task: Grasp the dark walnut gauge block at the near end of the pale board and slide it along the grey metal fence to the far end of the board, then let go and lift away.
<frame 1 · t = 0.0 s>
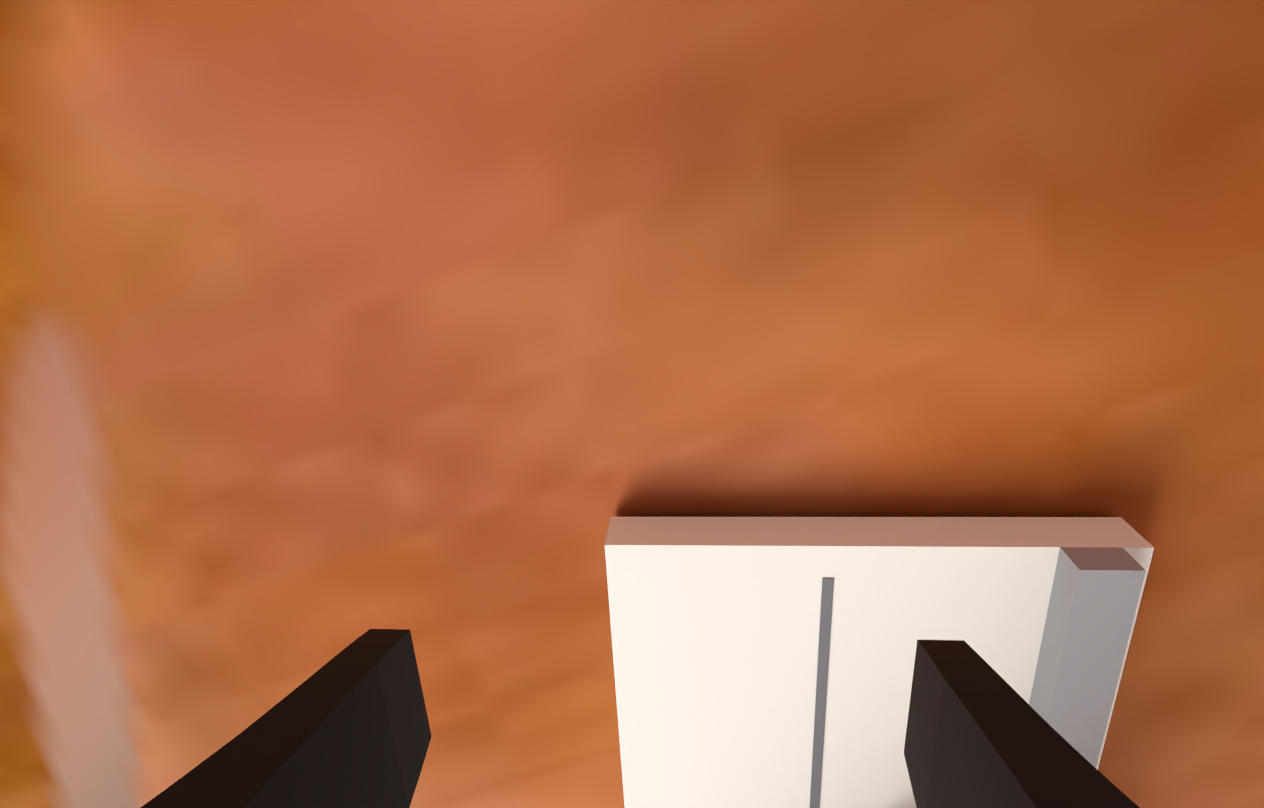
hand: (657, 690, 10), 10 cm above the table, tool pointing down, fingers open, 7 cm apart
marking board: (839, 755, 23), on the table
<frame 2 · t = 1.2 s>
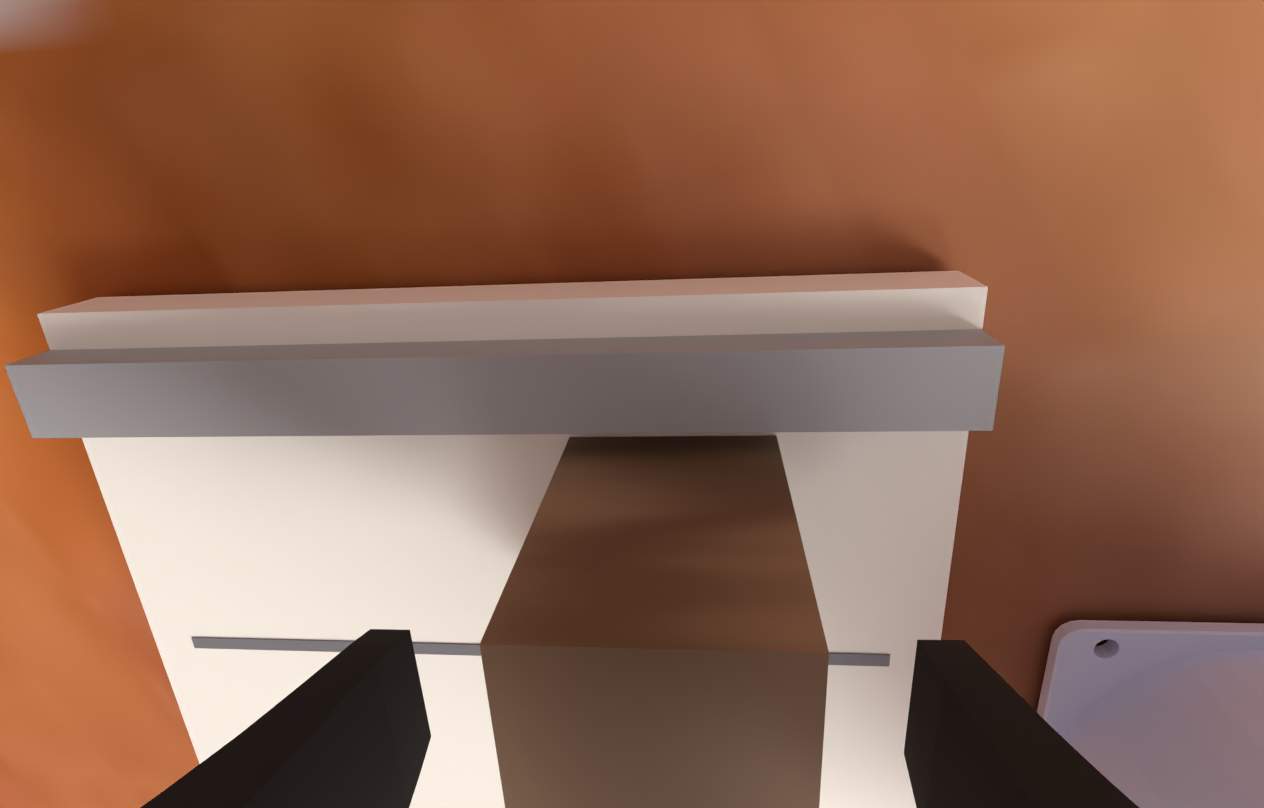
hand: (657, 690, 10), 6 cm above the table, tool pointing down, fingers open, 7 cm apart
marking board: (533, 573, 17), on the table
gauge block: (674, 526, 14), point 1 cm above the table, touching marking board
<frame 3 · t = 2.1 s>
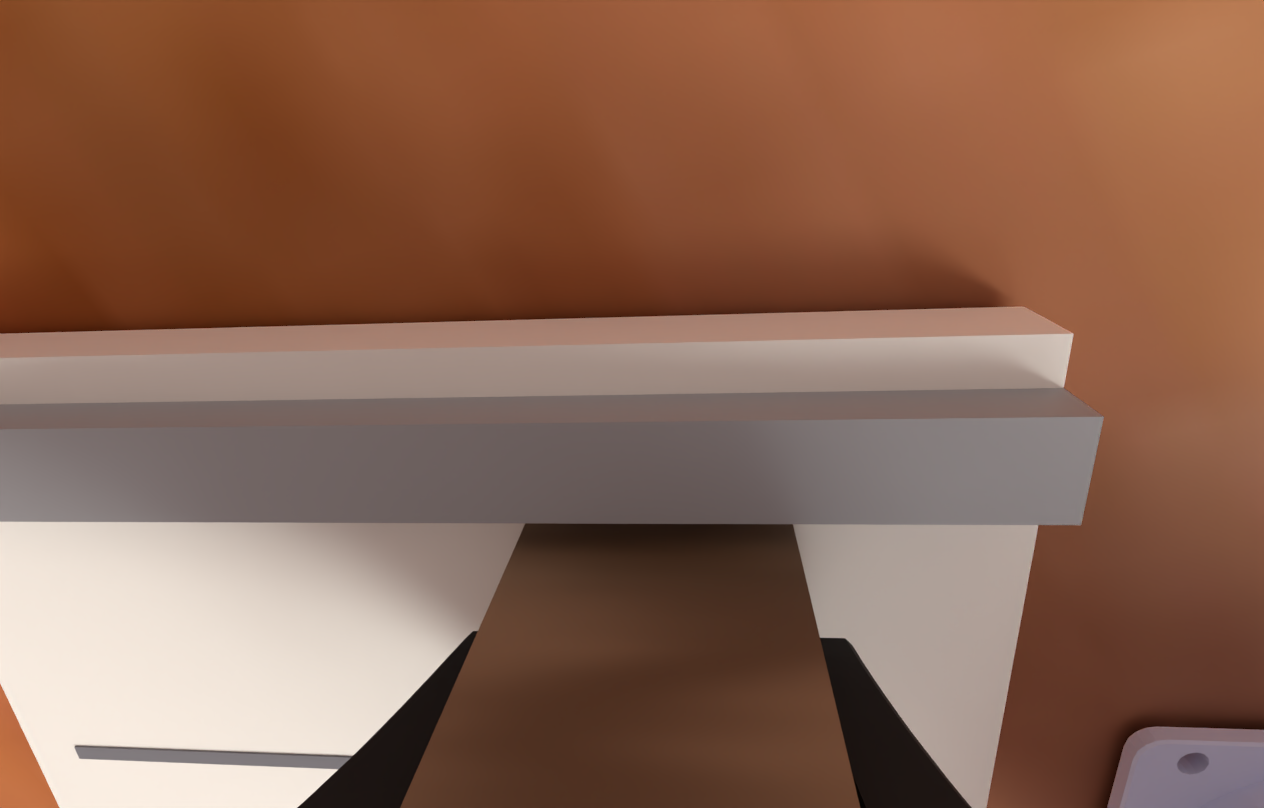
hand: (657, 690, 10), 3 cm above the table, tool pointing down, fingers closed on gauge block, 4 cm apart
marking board: (493, 665, 14), on the table
gauge block: (661, 625, 11), point 1 cm above the table, touching gripper, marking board
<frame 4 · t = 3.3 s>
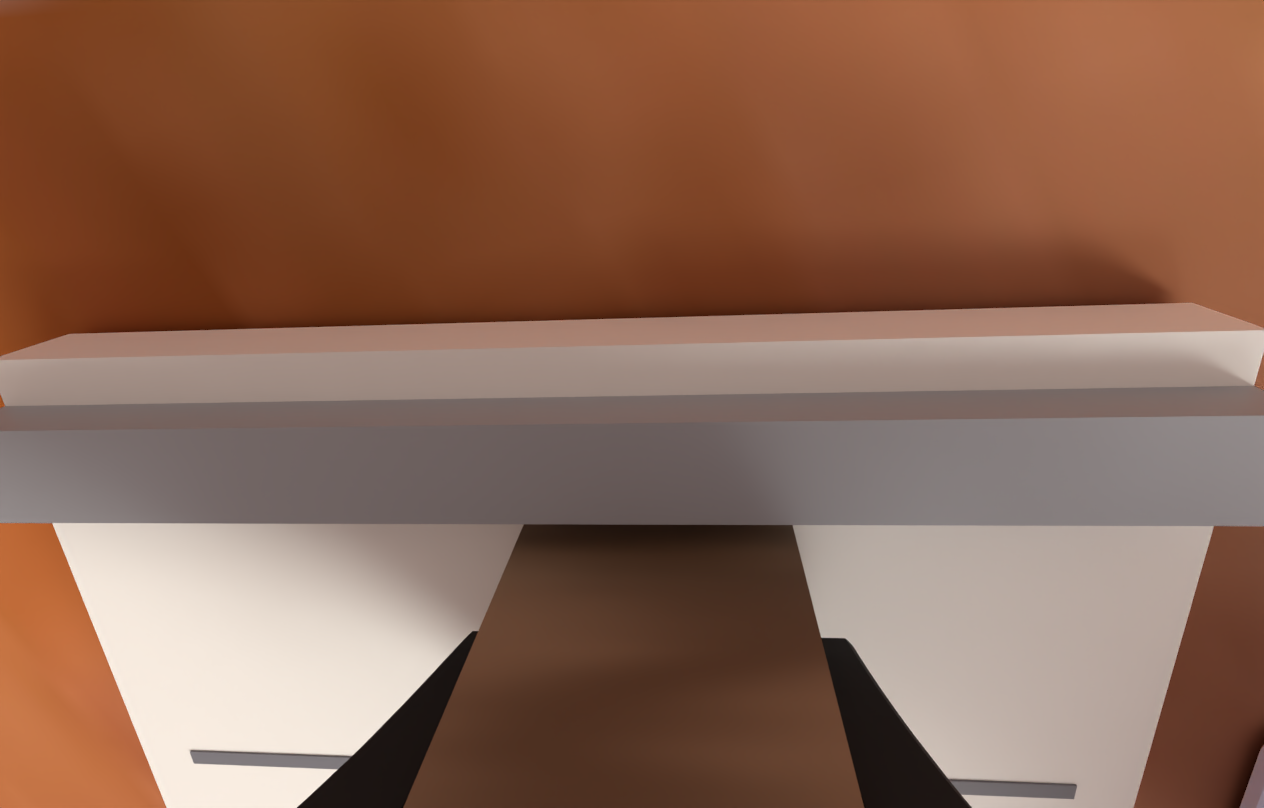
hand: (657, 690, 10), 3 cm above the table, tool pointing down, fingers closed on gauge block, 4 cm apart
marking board: (611, 668, 14), on the table
gauge block: (660, 626, 11), point 2 cm above the table, touching gripper
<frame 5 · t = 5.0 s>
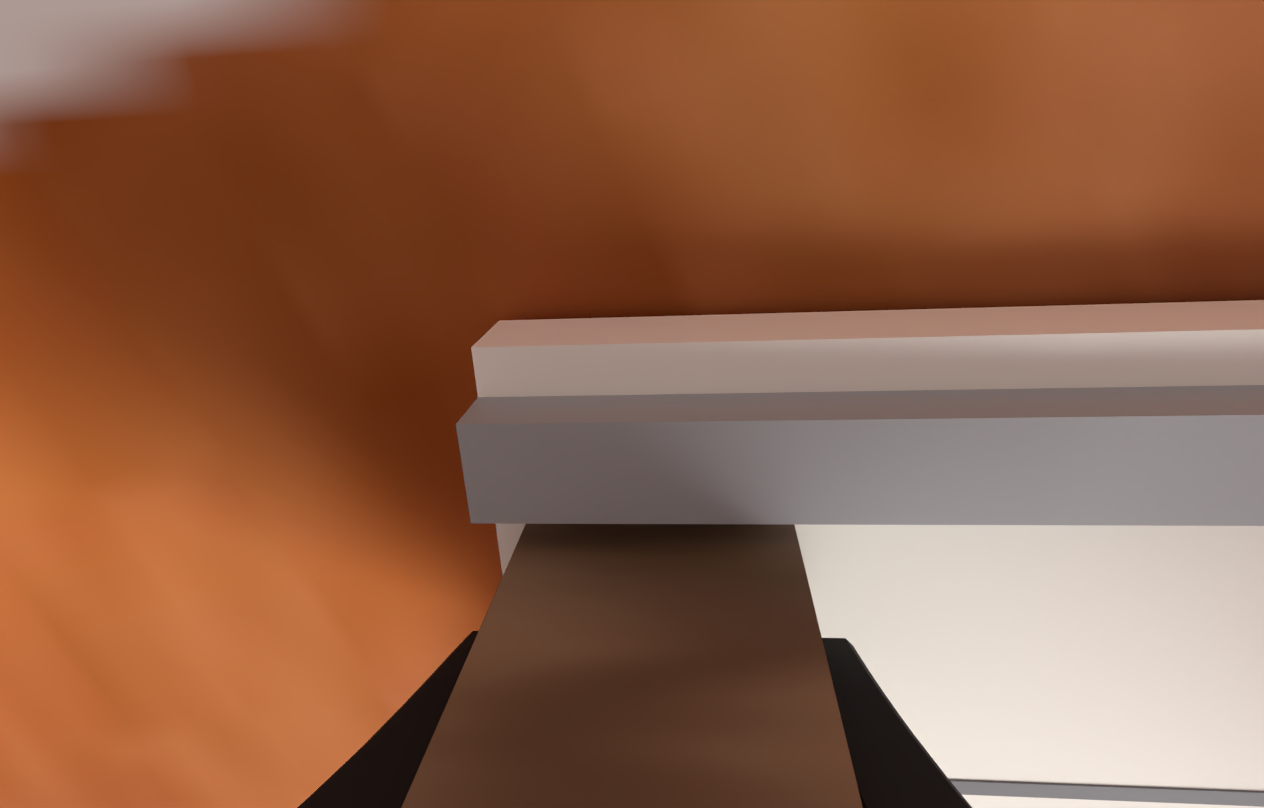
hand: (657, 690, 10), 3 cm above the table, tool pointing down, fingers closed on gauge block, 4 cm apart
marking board: (1021, 678, 13), on the table
gauge block: (662, 625, 11), point 1 cm above the table, touching gripper, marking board
when the fingers open (3 cm above the table, at t = 6.1 s): gauge block stays where it is, resting on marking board.
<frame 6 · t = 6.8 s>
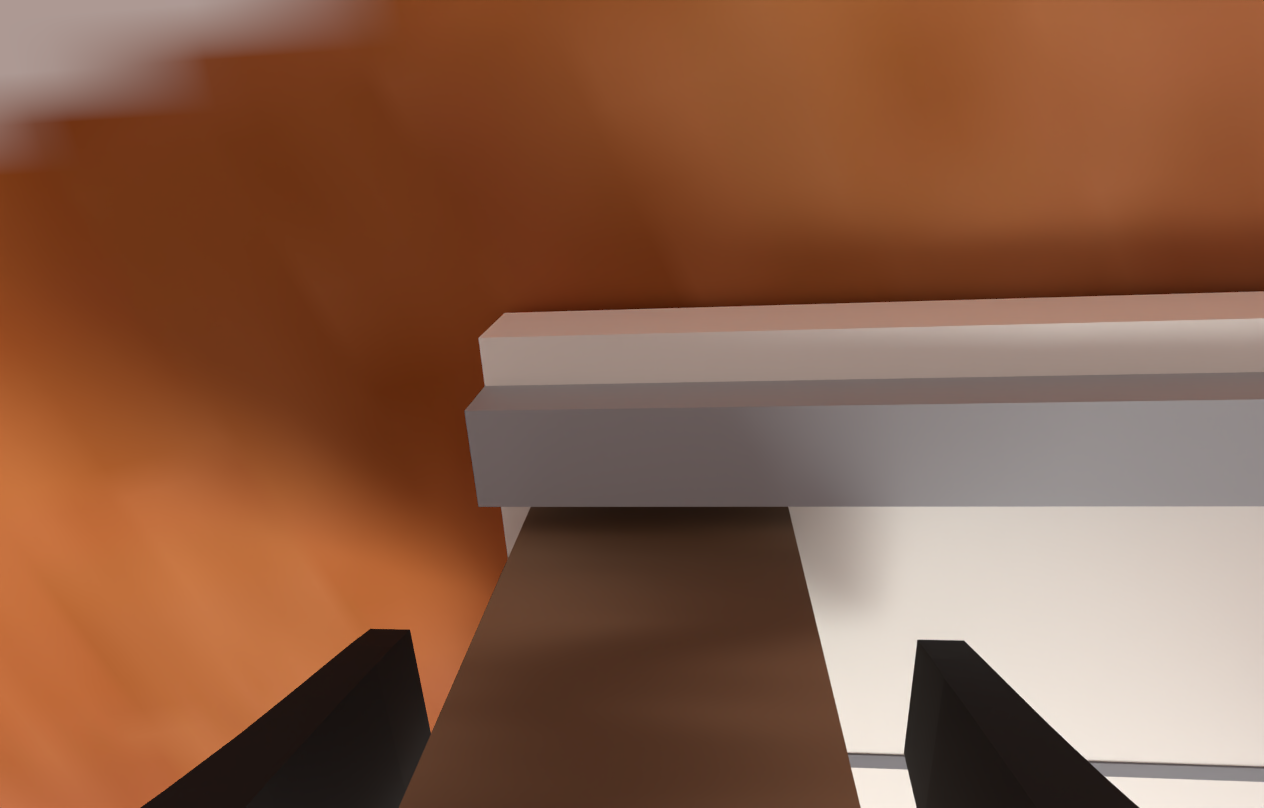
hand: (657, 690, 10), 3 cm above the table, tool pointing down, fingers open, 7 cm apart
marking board: (1009, 660, 13), on the table
gauge block: (661, 607, 12), point 1 cm above the table, touching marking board
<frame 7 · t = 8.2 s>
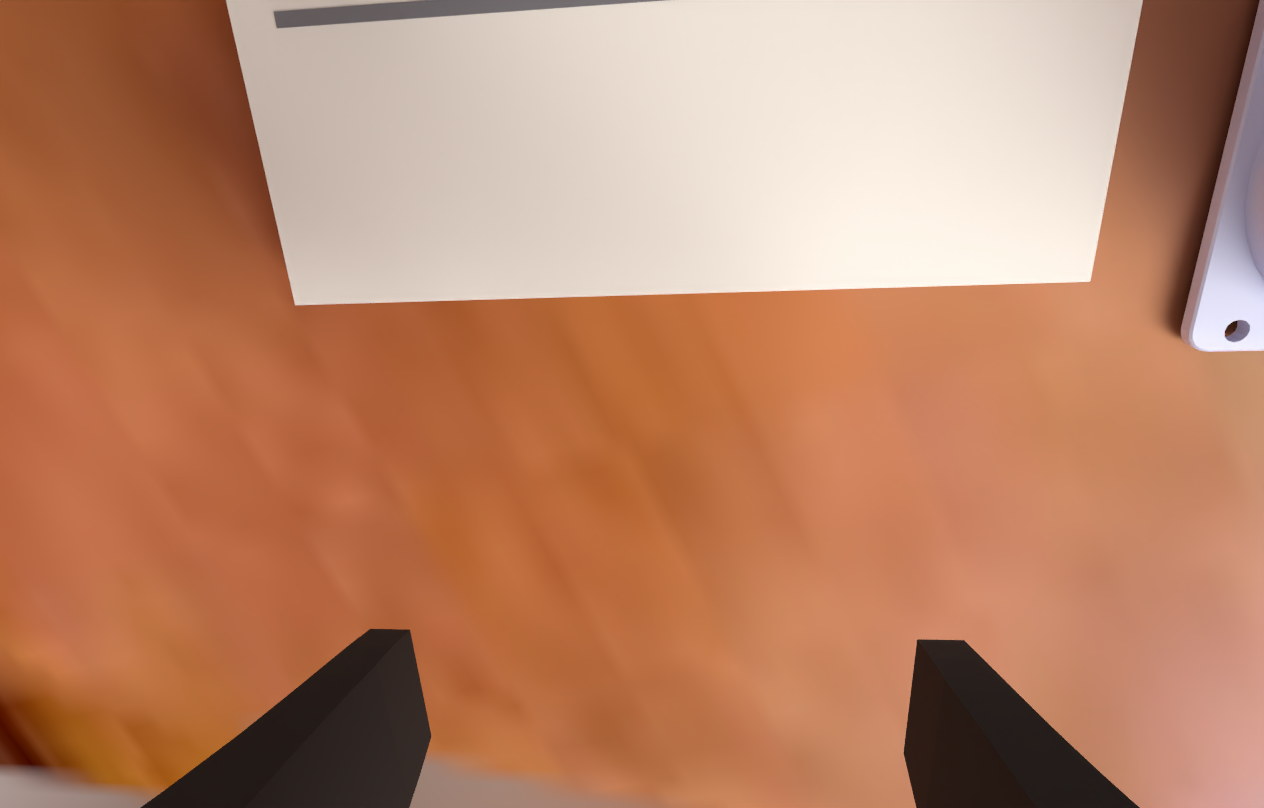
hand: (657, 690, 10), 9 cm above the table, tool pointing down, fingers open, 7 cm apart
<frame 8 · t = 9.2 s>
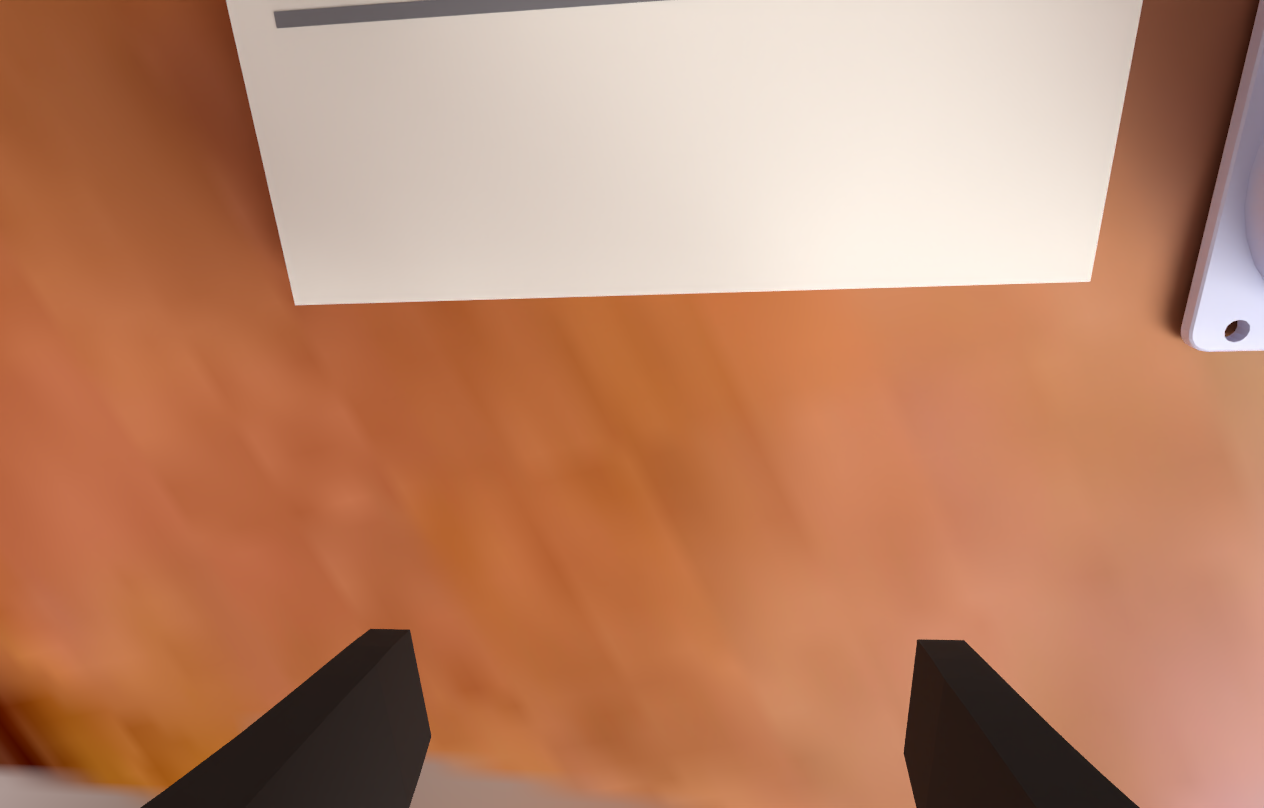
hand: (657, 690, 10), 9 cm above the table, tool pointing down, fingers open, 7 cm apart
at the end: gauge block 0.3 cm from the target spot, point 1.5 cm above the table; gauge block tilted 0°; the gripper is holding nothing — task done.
